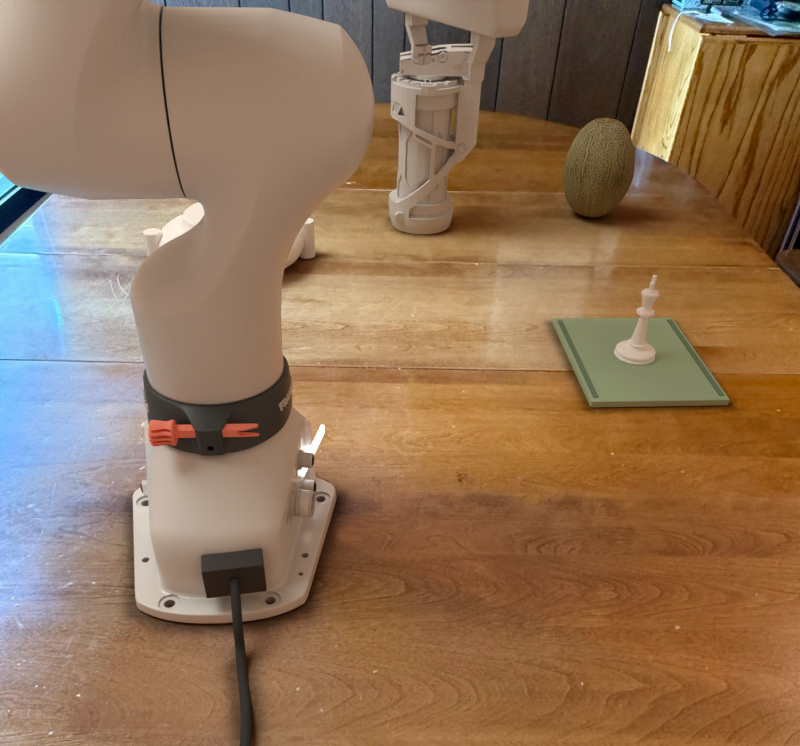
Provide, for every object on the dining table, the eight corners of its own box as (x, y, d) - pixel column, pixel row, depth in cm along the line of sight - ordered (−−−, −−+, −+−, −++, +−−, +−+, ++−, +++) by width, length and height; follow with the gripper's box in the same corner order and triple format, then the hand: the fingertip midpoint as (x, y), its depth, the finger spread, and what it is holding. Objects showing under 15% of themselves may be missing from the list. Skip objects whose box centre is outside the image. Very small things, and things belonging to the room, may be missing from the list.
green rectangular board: (728, 405, 88) (730, 398, 87) (590, 407, 87) (591, 400, 86) (670, 322, 103) (672, 316, 102) (552, 323, 102) (553, 317, 101)
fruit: (636, 223, 129) (659, 124, 119) (578, 230, 126) (597, 130, 116) (599, 200, 137) (618, 105, 127) (544, 206, 134) (558, 110, 124)
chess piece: (608, 358, 94) (627, 279, 87) (620, 341, 97) (638, 263, 90) (649, 369, 92) (671, 288, 85) (659, 351, 95) (681, 272, 89)
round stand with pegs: (153, 305, 102) (142, 252, 97) (146, 236, 119) (137, 188, 114) (331, 289, 107) (329, 237, 103) (301, 225, 124) (298, 178, 120)
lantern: (388, 234, 122) (391, 51, 106) (388, 210, 130) (391, 36, 113) (469, 236, 123) (486, 54, 106) (465, 212, 131) (479, 39, 114)
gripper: (369, -101, 79) (369, 56, 88) (495, -85, 66) (480, 96, 75) (420, -102, 81) (415, 51, 91) (551, -86, 69) (529, 89, 78)
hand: (445, 72), depth 83 cm, fingers open, 8 cm apart
